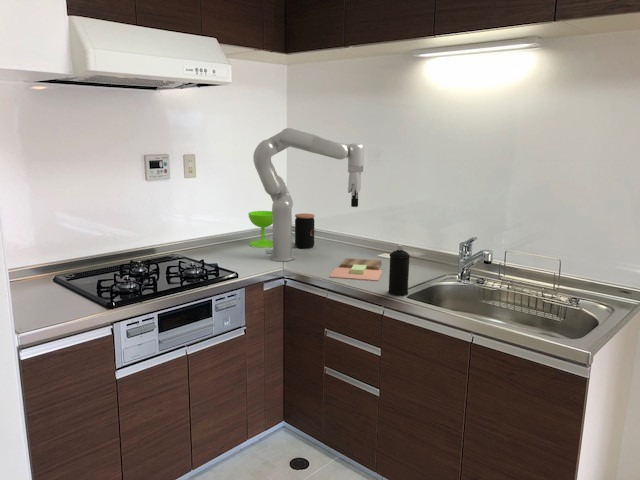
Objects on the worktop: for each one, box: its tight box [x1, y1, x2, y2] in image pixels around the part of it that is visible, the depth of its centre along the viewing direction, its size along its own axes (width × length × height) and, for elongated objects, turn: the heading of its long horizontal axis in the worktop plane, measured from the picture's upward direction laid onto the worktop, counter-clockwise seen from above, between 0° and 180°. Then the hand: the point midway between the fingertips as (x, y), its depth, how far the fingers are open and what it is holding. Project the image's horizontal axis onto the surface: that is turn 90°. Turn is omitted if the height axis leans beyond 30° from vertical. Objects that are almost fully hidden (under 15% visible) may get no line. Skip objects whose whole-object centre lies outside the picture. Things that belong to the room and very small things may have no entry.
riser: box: [340, 257, 382, 270], centre depth 251 cm, size 18×12×2 cm, turn 76°
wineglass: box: [248, 210, 273, 248], centre depth 292 cm, size 16×16×18 cm
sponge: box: [351, 264, 367, 275], centre depth 240 cm, size 6×9×2 cm, turn 167°
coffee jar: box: [294, 213, 315, 250], centre depth 288 cm, size 11×11×18 cm
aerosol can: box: [387, 244, 411, 297], centre depth 210 cm, size 8×8×20 cm
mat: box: [328, 266, 383, 282], centre depth 238 cm, size 22×16×1 cm
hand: (354, 206), depth 258 cm, fingers closed
